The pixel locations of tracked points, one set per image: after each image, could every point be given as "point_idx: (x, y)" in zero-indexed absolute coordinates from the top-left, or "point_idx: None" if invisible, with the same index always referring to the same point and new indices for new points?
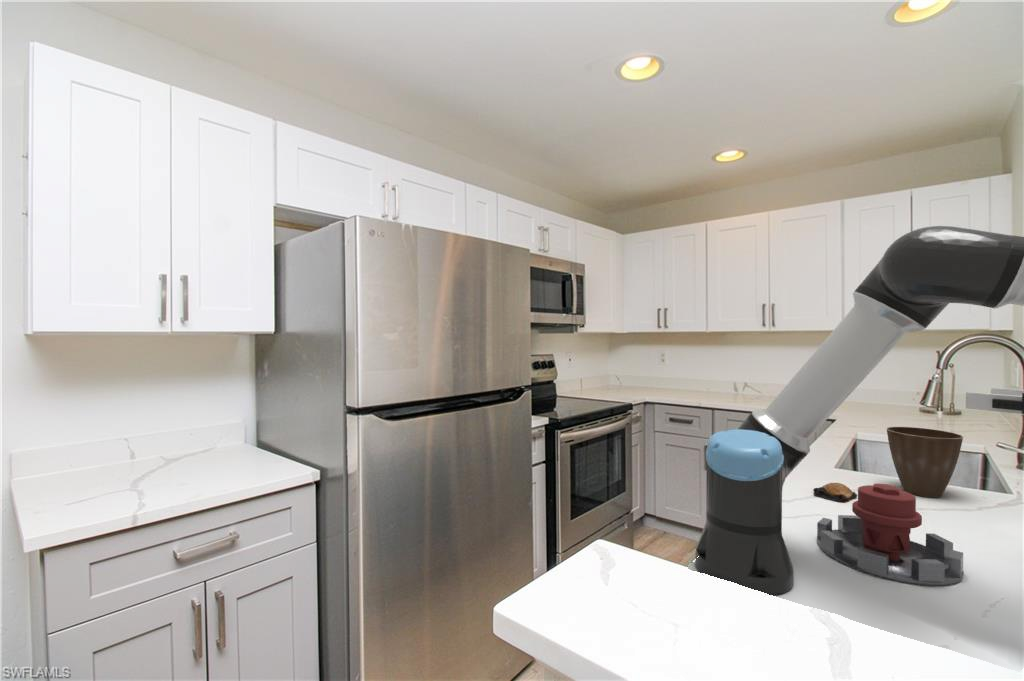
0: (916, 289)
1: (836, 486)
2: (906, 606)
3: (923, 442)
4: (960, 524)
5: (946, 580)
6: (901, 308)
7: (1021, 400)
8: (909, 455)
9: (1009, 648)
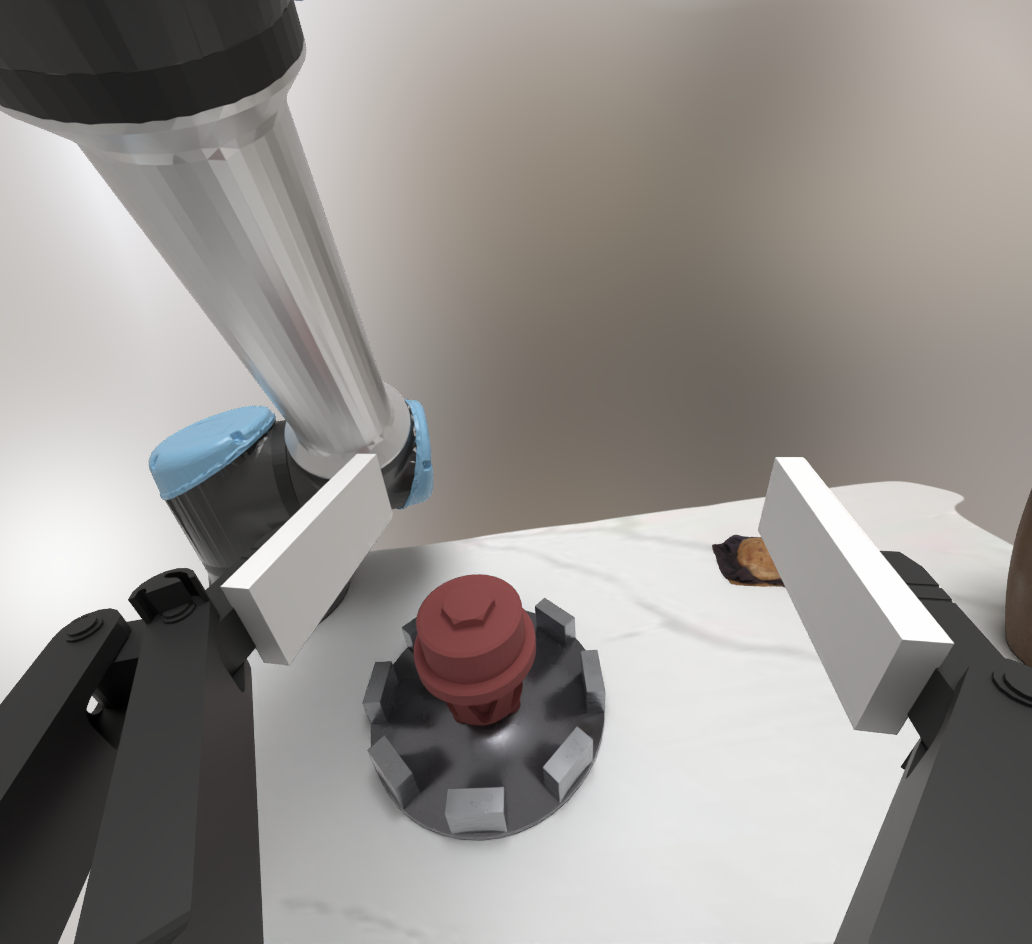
0: None
1: (758, 549)
2: (269, 776)
3: None
4: (900, 779)
5: (417, 811)
6: None
7: (233, 602)
8: (1029, 561)
9: None
